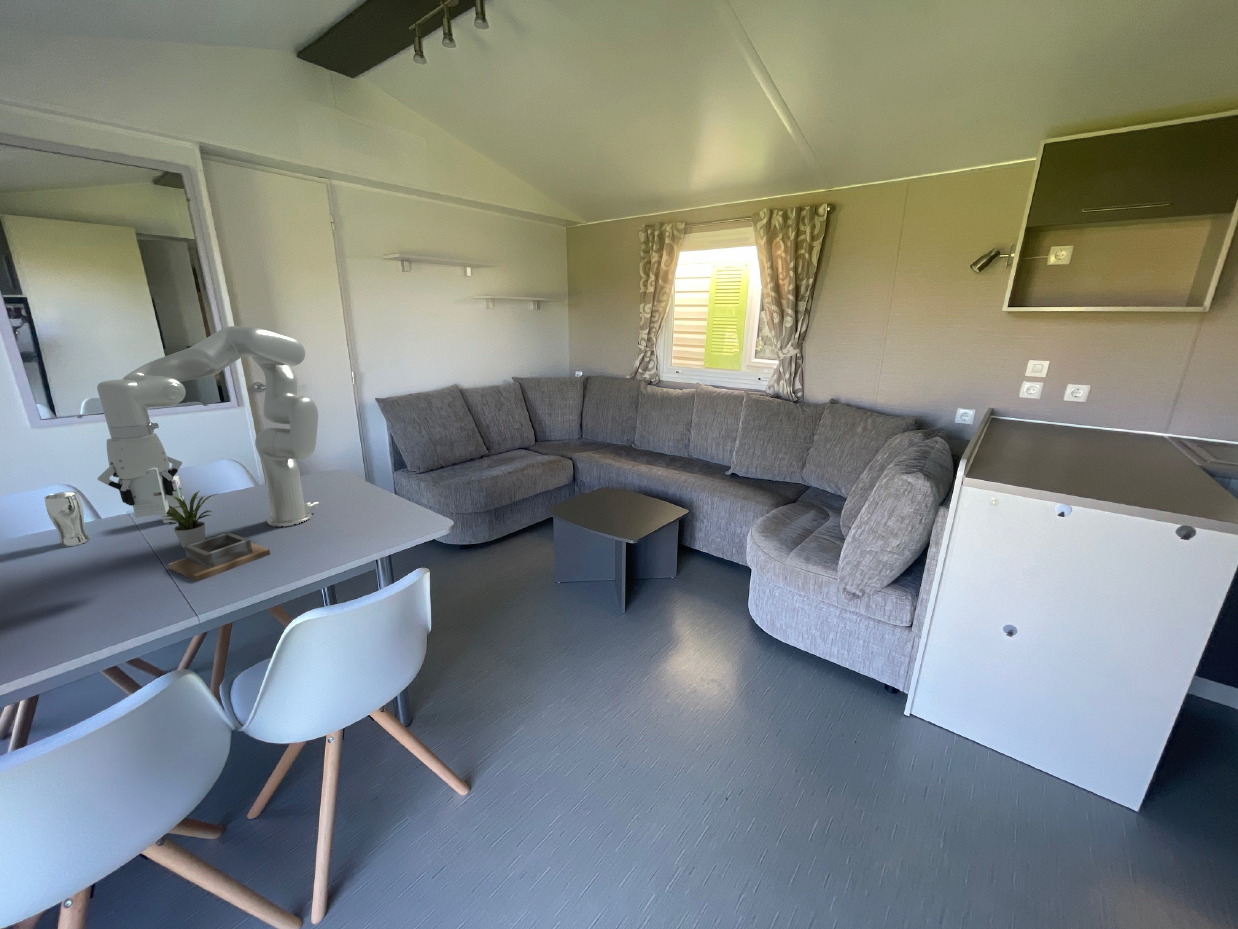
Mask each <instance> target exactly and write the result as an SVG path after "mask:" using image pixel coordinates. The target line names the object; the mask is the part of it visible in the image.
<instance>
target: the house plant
mask: <svg viewBox="0 0 1238 929" xmlns="http://www.w3.org/2000/svg"><path fill="white" fill-rule="evenodd" d="M200 491H201V490H197V491H196V492H195V493H194V494H193V495H192V497H191V499H190V500H189V508H188V505H187V503H186V501H184V500H185V498H184V499H183V498H182V497H181V496H180V497H181V498H182V500H183V501H182V500H181V499H180V498H177V497H175V496H172V498H174V499H176V500H177V501H178V502H179V504H180V506H181V508H182V510H183V513H184V516H185V517H184V516H183V515H181V514H180V513H179V512H178V511H177V510H176V509H175V508H173V507H172V506H170V505H169V508H170V509H171V510H170V509H168V511H167V513H166V514H168V515H167V516H165V517H172V518H169V519H164V520H173V521H177V522H172V523H168V526H171V525H176V526H175V527H174V528H173V530H174V533H175V535H176V536H177V538H178V541H179V543H180V545H181V547H182V548H183V550H185V547H184V546H187V545H190V544H193V543H197V542H200V541H203V540H206V522H204V521H200V520H201V519H203V518H206V517H209V516H212V517H213V515H212V514H208V513H210V512H211V513H213V511H212V510H205V511H203V512H201V514H199V516H198V517H197V515H198V512H199V510H200V509H201V508H202V505H203V504H205V502H206V501H207V500H209V498H211V497H213V496H217V495H218V493H215V494H212V495H209V496H207V497H206V496H205V495H203V496H200V497H199V496H198V495H199V493H200ZM205 497H206V498H205ZM198 498H199V500H198V501H197V503H196V505H195V506H194V504H195V501H196V499H198ZM204 498H205V499H204ZM163 518H164V517H163Z"/></svg>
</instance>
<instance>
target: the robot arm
mask: <svg viewBox="0 0 1238 929" xmlns="http://www.w3.org/2000/svg"><path fill="white" fill-rule="evenodd" d="M245 357H251V359H252V360H253V361H254V362H255V363H256V364H257V365H258V366H259V367H260V369H261V371H262V372H263V375H264V379H265V388H264V389H265V391H264V399H263V400H264V402H263V415H264V417H265V419H266V420H267V421H268V422H270V423H274V424H279V425H289V428H283V427H282V428H281V427H268V428H265V429H264V428H263V430H261V431H259V432H258V433H257V435H256V436H255V442H254V443H255V448H256V451H257V454H258V456H259V458H260V461H261V464H262V468H263V473H264V480H265V484H266V489H267V490H266V491H267V496H268V500H269V501H268V502H269V507H270V513H271V516H269V517H268V518H267V519H266V521H267V522H266V523H267V524H268V526H271V527H276V526H277V528H280V527H281V526H283V527H291V526H295V525H294V524H296V525H299V523H300V524H302V523H301V522H303V523H305V522H307V521H309V520H310V519H312V512H311V510H312V509H315V508H318V507H320V503H319V501H313V502H310V501H308V502H305V500H304V494H303V488H302V487H303V486H302V481H301V474H300V473H301V472H300V468H299V465H298V462H297V461H296V460H306V459H308V458H310V457H311V456H312V455H313V453H314V451H315V449H316V444H317V433H318V423H319V411H318V407H317V404H316V403H315V401H314V400H313V399H311V398H310V397H307V396H304V395H298V379H297V375H296V373H295V371H294V370H293V369H294V368H292V367H294V366H298V365H300V364H301V363H303V361H304V360H305V358H306V350H305V348H304V346H303V344H302V343H301V341H300V342H299V340H298V339H295V338H293V337H290V336H287V335H284V334H281V333H277V332H274V331H272V330H271V331H270V330H267V329H264V328H261V327H256V326H241V325H239V326H238V325H237V326H236V325H231V326H226V327H223V328H221V329H219V330H218V331H216V332H214V333H212V334H211V335H209V336H208V337H206V338H204V339H202V340H201V341H199V342H197V343H196V344H194V345H192V346H190V347H189V348H186V349H183V350H180V351H177V352H174V353H171V354H168V355H165V356H163V357H159V358H157V359H154V360H152V361H149V362H147V363H144V364H143V365H142V366H141V365H140V366H139V367H137V368H136V369H135V370H133V371H130V372H129V373H127V374H126V375H124V377H123V378H122V379H112V380H111V379H110V380H105V381H101V382H99V383H98V384H97V388H96V389H97V393H98V397H99V400H100V404H101V407H102V411H103V414H104V418H105V422H106V426H107V428H108V432H109V436H110V438H107V439H106V454H107V460H108V466H109V467H107V468H106V469H105V470H104V471H103V472H102V473H101V474H100V475H99V476H98V477H97V480H98V481H99V482H101V483H103V484H104V485H107V486H109V487H111V488H114V489H116V490H118V491H119V494H120V498H121V501H122V503H124V504H126V505H128V506H129V507H130V506H131V507H133V505H134V504H135V503H134V499H133V496H132V492H131V490H129V489H128V486H129V483H130V481H131V479H135V478H140V477H143V476H145V475H146V470H148V469H152V468H157V469H158V472H159V473H160V474H161V475H162V479H163V483H164V488H165V492H166V495H169V496H172V495H173V492H172V491H174V488H173V484H172V480H173V477H174V476H175V475H176V474H177V473H178V471H179V470H180V468H181V467H182V465H183V461H181V460H178V459H175V458H173V457H170V456H168V455H167V453H166V451H165V450H166V449H165V448H164V446H163V443H162V441H161V439H160V437H159V435H158V434H157V433H155V431H154V430H156V429H159V427H160V426H159V424H158V422H152V421H151V419H150V415H149V412H148V408H163V407H165V408H166V407H172V406H175V405H177V404H179V403H181V402H182V401H183V400H184V399H185V397H186V393H187V392H186V388H185V385H184V384H182V382H187V381H192V380H198V379H204V378H209V377H212V376H214V375H217V374H219V373H221V371H224V370H225V369H226V368H227V367H229V366H230V365H232V364H234V363H235V362H237V361H238V360H240V359H241V358H245ZM170 464H171V467H170ZM110 477H114V478H117V479H118V480H117V482H115V481H114V480H111V479H110ZM308 519H309V520H308ZM306 520H307V521H306ZM304 521H305V522H304Z"/></svg>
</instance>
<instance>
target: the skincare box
mask: <svg viewBox="0 0 1238 929" xmlns="http://www.w3.org/2000/svg"><path fill="white" fill-rule="evenodd" d="M128 489H129V490H131V492H132V496H133V499H134V503H135V504H134V505H133V506H132V507H133V513H134V516H135V518H144V517H151V516H160V515H161V514H166V513H167V511H168V509H169V505H168V501H167V497H166V492H165V488H164V483H163V479H162V475H161V474H160V473H159V472H158V469H157V468H152V469H148V470H146V475H145V476H143V477H140V478H135V479H131V481H130V483H129V486H128ZM161 516H162V515H161Z"/></svg>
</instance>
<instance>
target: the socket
mask: <svg viewBox="0 0 1238 929" xmlns="http://www.w3.org/2000/svg"><path fill="white" fill-rule="evenodd" d="M184 547H185V549H184V552H185V556H186V557H184V558H182V559H178V560H175V561H173V562H169V563H168V567H169V569H170V570H172V571H174V572H176V573H178V574H180V575H183V576H184V577H186V578H189V579H192V580H194V581H196V582H200V581H202V580H205V579H208V578H210V577H213V576H216V575H219V574H222V573H224V572H226V571H229V570H232V569H234V568H238V567H240V566H242V565H243V566H244V565H246V564H248V563H251V562H253V561H255V560H256V561H257V560H258V559H261V558H263V557H266V556H269V555H271V550H270V548H267V547H264V546H261V545H259V544H256V543H253V542H252V541H251V539H248V538H245V537H243V536H240V535H238V534H235V533H231V532H224V533H222V534H218V535H216V536H213V537H209V538H205V540H203V541H200V542H197V543H193V544H190V545H187V546H184ZM268 554H269V555H268Z"/></svg>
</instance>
